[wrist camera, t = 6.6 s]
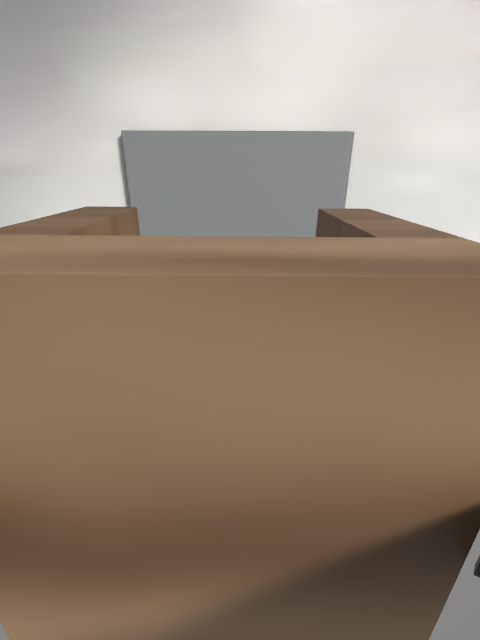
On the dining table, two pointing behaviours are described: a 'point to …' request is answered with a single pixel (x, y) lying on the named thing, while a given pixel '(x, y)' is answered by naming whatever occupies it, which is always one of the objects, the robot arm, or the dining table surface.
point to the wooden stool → (235, 429)
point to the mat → (235, 181)
